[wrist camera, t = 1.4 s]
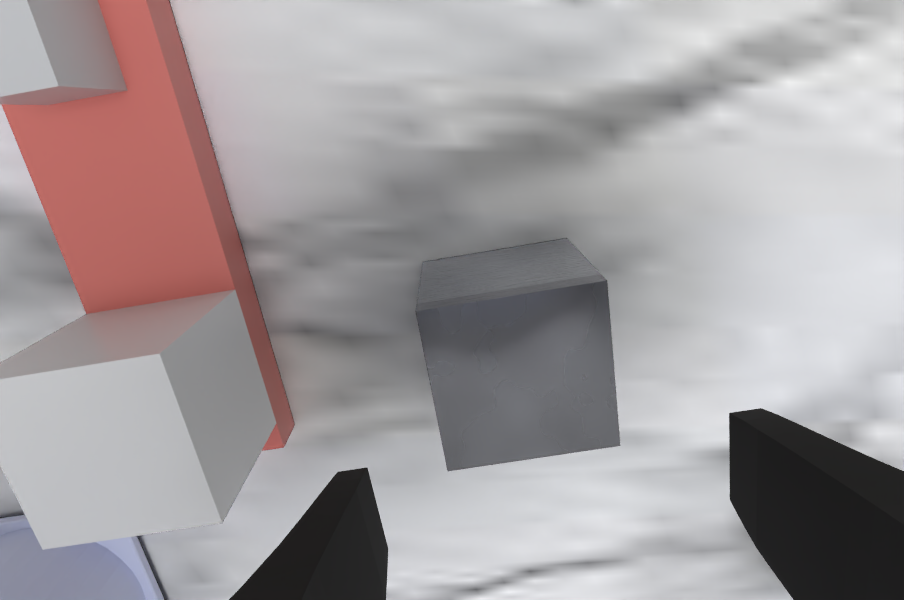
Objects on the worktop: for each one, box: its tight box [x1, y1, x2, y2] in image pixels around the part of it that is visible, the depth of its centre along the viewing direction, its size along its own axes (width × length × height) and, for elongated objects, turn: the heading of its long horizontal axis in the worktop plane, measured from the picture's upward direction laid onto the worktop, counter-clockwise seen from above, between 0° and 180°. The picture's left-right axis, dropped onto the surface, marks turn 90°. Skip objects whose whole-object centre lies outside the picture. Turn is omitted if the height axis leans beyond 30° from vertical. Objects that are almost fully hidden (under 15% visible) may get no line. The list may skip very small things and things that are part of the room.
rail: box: [0, 0, 295, 550], centre depth 16 cm, size 17×5×6 cm, turn 9°
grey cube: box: [416, 238, 620, 471], centre depth 18 cm, size 5×5×5 cm
